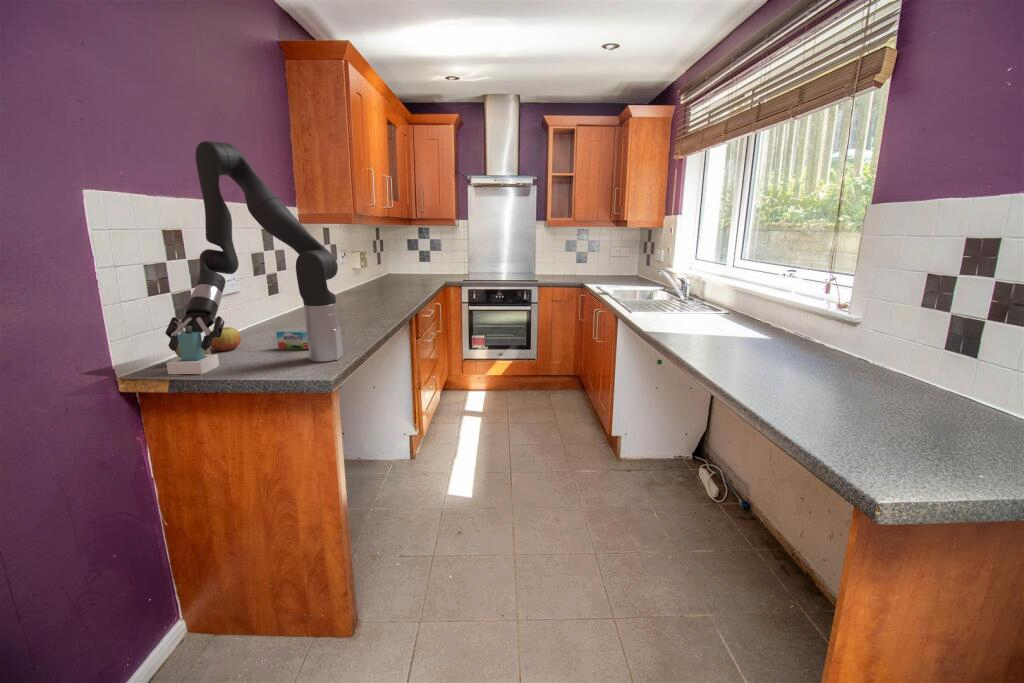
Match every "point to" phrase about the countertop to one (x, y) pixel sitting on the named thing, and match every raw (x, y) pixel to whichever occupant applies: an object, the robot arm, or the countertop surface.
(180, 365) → the socket
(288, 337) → the blue printed box
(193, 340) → the teal block with knob
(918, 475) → the countertop surface
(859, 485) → the countertop surface
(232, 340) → the apple
